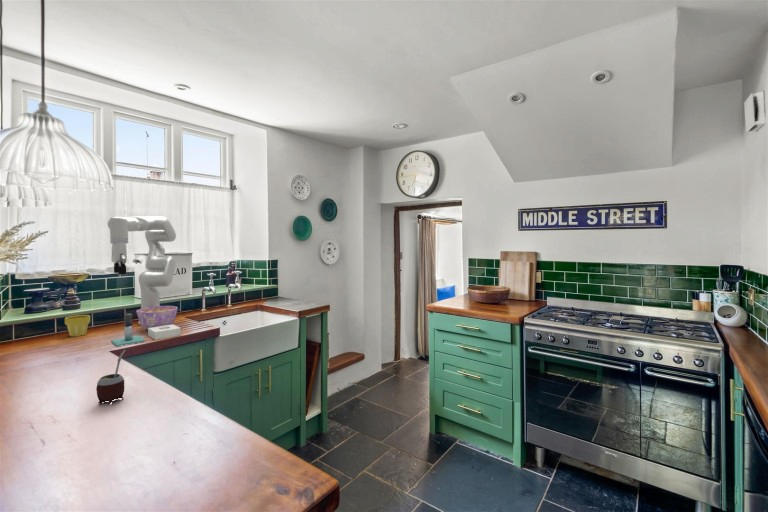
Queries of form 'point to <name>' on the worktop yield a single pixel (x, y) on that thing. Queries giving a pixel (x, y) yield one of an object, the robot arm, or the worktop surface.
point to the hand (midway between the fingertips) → (120, 273)
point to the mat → (122, 341)
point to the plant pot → (77, 324)
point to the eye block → (164, 331)
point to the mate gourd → (111, 386)
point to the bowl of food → (157, 316)
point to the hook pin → (128, 327)
